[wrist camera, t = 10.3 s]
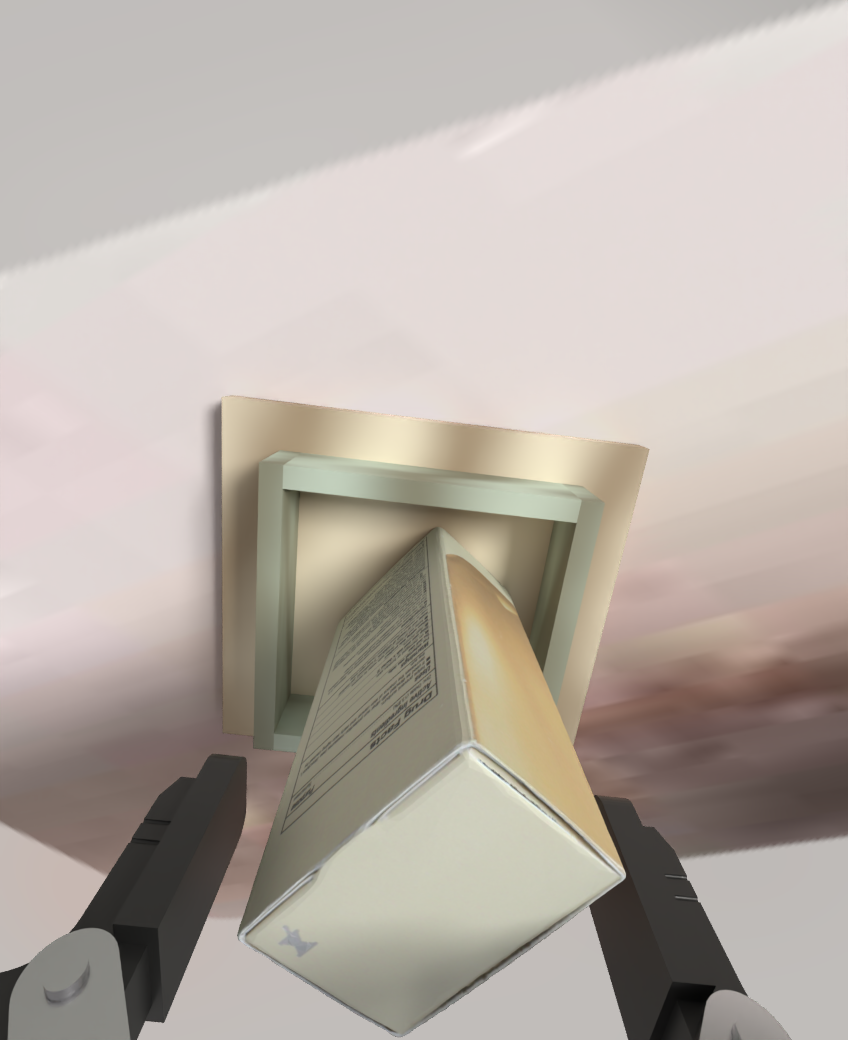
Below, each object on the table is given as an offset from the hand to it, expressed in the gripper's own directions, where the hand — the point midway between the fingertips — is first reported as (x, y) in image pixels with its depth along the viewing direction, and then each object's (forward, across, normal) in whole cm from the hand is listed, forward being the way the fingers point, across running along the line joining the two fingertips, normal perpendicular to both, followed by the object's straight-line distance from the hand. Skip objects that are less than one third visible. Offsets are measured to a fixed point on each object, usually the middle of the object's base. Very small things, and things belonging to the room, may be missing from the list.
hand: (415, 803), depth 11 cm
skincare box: (+10, 0, 0) cm, 10 cm away
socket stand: (+11, 0, 0) cm, 11 cm away
